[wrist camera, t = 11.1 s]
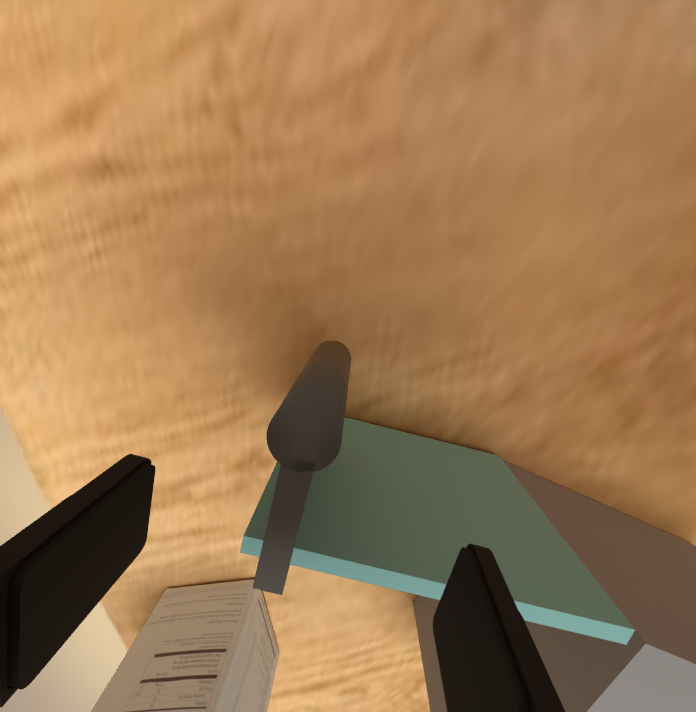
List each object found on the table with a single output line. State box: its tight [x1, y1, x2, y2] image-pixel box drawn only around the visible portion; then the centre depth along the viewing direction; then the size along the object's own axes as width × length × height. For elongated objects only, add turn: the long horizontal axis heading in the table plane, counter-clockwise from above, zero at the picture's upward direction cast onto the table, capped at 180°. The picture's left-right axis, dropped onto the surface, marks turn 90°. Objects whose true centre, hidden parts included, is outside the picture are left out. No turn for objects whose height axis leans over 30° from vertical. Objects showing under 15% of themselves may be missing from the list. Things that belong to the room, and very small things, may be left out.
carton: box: [413, 461, 696, 712], centre depth 22 cm, size 16×18×14 cm
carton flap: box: [240, 341, 635, 645], centre depth 18 cm, size 16×8×16 cm, turn 76°
